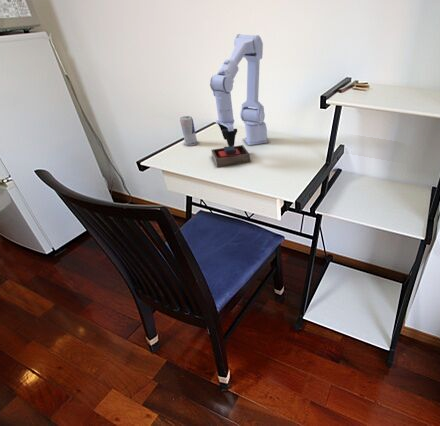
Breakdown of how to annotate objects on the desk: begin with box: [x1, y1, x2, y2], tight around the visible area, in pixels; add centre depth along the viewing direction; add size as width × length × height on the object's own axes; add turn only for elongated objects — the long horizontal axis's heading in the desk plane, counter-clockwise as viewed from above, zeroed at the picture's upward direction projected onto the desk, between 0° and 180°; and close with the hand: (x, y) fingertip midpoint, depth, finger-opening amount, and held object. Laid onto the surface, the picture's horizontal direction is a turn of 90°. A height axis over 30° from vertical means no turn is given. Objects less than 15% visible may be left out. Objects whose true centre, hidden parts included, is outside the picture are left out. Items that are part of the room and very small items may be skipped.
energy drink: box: [179, 115, 198, 147], centre depth 137 cm, size 5×5×12 cm
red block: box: [218, 145, 241, 158], centre depth 126 cm, size 8×5×5 cm
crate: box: [211, 144, 251, 168], centre depth 127 cm, size 14×10×4 cm
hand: (229, 142), depth 124 cm, fingers open, 7 cm apart
